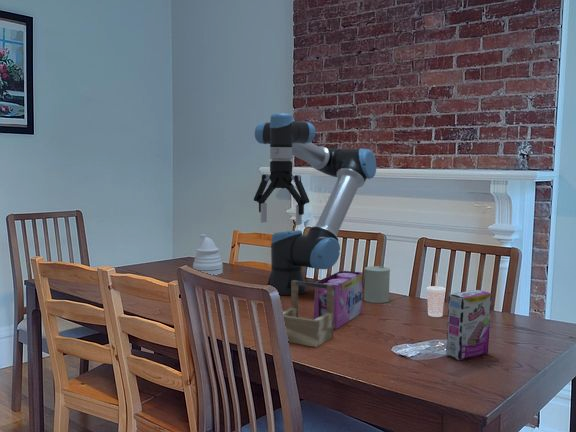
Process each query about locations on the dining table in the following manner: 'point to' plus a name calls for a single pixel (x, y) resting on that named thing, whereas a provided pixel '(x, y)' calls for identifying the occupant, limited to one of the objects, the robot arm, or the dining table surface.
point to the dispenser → (305, 328)
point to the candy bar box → (468, 324)
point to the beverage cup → (435, 300)
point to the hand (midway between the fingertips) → (280, 223)
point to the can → (376, 284)
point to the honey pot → (208, 257)
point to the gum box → (340, 296)
